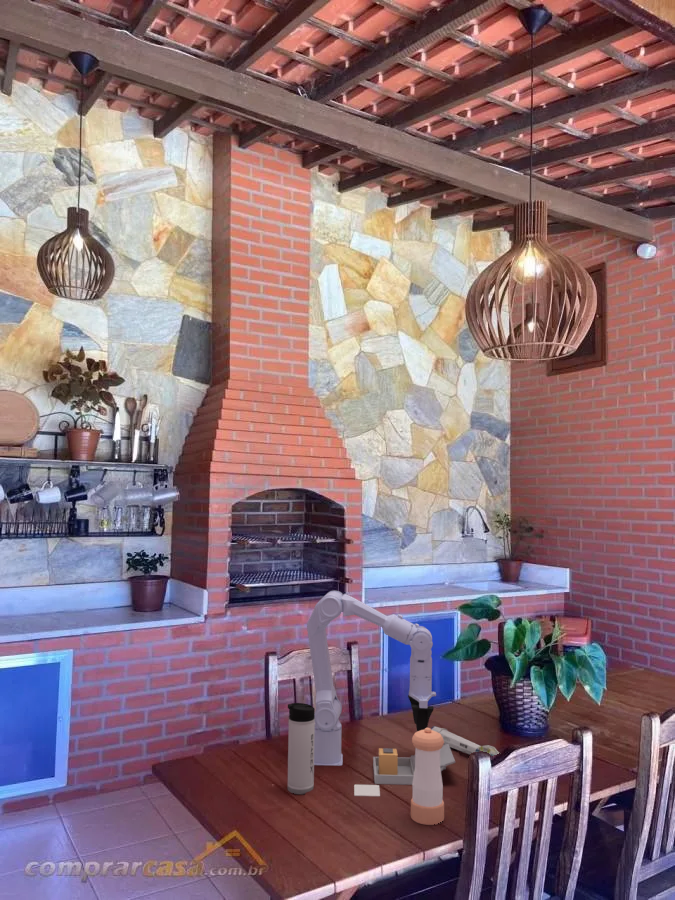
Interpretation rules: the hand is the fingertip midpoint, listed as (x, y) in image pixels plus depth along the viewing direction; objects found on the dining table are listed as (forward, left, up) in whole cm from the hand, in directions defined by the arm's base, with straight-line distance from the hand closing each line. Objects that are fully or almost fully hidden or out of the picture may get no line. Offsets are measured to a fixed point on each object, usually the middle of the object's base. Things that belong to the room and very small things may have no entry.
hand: (420, 728), depth 182 cm
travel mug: (-30, -15, -10) cm, 35 cm away
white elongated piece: (+11, +8, -7) cm, 15 cm away
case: (-2, -7, -10) cm, 12 cm away
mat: (-14, -16, -10) cm, 24 cm away
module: (-9, -6, -9) cm, 14 cm away
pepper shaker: (-1, -28, -10) cm, 30 cm away
